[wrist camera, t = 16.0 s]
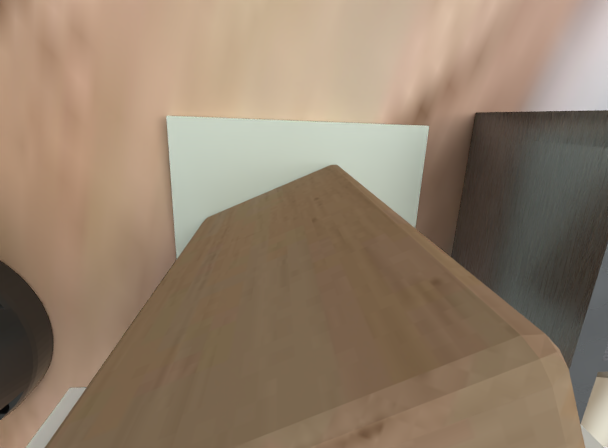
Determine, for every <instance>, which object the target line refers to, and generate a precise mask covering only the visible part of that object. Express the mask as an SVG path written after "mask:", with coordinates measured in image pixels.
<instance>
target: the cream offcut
mask: <svg viewBox="0 0 608 448" xmlns="http://www.w3.org/2000/svg"><path fill="white" fill-rule="evenodd" d="M581 425H582V426H583V427H584V428H585V429H586V430H587V431H588V432H589V433H590V434H591V435H592V436H593V437H594V438H595V439H596V440H597V441H598V442H599V443H600V444H601V445H602V446H603V447H608V372H598V374H597V377H596V380H595V383H594V386H593V389H592V392H591V395H590V398H589V401H588V404H587V407H586V410H585V413H584V416H583V419H582V422H581Z"/></svg>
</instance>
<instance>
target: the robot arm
mask: <svg viewBox="0 0 608 448" xmlns="http://www.w3.org/2000/svg"><path fill="white" fill-rule="evenodd" d="M52 351H53V336H52V330H51V326H50V322H49V319H48V316H47V314H46V312H45V309H44V307H43V306H42V304H41V302H40V300H39V299H38V297H37V296H36V294H35V293H34V292H33V290H32V289H31V288H30V287H29V286H28V284H27V283H26V282H25V281H24V280H23V279H22V278H21V277H20V276H19V275H17V274H16V273H15V272H14V271H13V270H12V269H10V268H9V267H8V266H6V265H5V264H4V263H2V262H1V261H0V420H1V419H2V418H4V417H5V416H7V415H8V414H9V413H10V412H12V411H13V410H14V409H15V408H16V407H17V406H18V405H19V404H20V403H21V402H22V401H23V400H24V399H25V398H26V397H27V396H28V395H29V393H30V392H31V391H32V390H33V389H34V388H35V387H36V386H37V384H38V383H39V382H40V381H41V379H42V378H43V377H44V375H45V373H46V371H47V369H48V367H49V364H50V361H51V357H52ZM86 388H87V387H81V388H69V390H68V391H67V392H66V394H65V395H64V396H63V398H62V399H61V401H60V402H59V403H58V405H57V406H56V407H55V409H54V410H53V411H52V413H51V414H50V415H49V417H48V418H47V419H46V421H45V422H44V423H43V425H42V426H41V428H40V429H39V430H38V432H37V433H36V434H35V436H34V437H33V438H32V440H31V441H30V442H29V444H28V445H27V446H26V448H45V446H46V445H47V444H48V442H49V441H50V439H51V438H52V436H53V435H54V434H55V432H56V431H57V429H58V428H59V426H60V425H61V424H62V422H63V421H64V419H65V418H66V416H67V415H68V414H69V412H70V411H71V409H72V408H73V406H74V405H75V404H76V402H77V401H78V399H79V398H80V397H81V395H82V394H83V392H84V391H85V389H86ZM580 425H581V424H580ZM581 430H582V434H583V439H584V444H585V448H604V447H603V446H602V445H601V444H600V443H599V442H598V441H597V440H596V439H595V438H594V437H593V436H592V435H591V434H590V433H589V432H588V431H587V430H586V429H585V428H584V427H583V426H582V425H581Z"/></svg>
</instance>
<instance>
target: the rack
mask: <svg viewBox="0 0 608 448" xmlns="http://www.w3.org/2000/svg"><path fill="white" fill-rule="evenodd" d="M451 258H453V259H454V260H455V261H456V262H457V263H459V264H460V265H461V266H462V267H464V268H465V269H466V270H467V271H469V272H470V273H471V274H472V275H473V276H475V277H476V278H477V279H478V280H480V281H481V282H482V283H483V284H485V285H486V286H487V287H488V288H489V289H491V290H492V291H493V292H494V293H496V294H497V295H498V296H499V297H501V298H502V299H503V300H504V301H505V302H507V303H508V304H509V305H510V306H512V307H513V308H514V309H515V310H517V311H518V312H519V313H520V314H521V315H523V316H524V317H525V318H526V319H528V320H529V321H530V322H531V323H533V324H534V325H535V326H536V327H537V328H539V329H540V330H541V331H542V332H544V333H545V334H546V335H547V336H548V337H549V338H550V339H551V341H552V342H553V343H554V344H555V345H556V346H557V347H558V348H559V349H560V352H561V354H562V356H563V358H564V360H565V362H566V364H567V367H568V369H569V373H570V378H571V383H572V387H573V392H574V397H575V401H576V406H577V411H578V416H579V420H580V424H581V422H582V419H583V416H584V413H585V410H586V407H587V404H588V401H589V398H590V395H591V392H592V389H593V386H594V383H595V380H596V377H597V374H598V372H608V110H605V111H546V112H487V113H476V116H475V122H474V128H473V134H472V140H471V146H470V151H469V157H468V163H467V169H466V175H465V181H464V187H463V193H462V198H461V204H460V210H459V216H458V222H457V228H456V234H455V239H454V245H453V251H452V257H451Z"/></svg>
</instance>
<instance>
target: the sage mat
mask: <svg viewBox="0 0 608 448" xmlns="http://www.w3.org/2000/svg"><path fill="white" fill-rule="evenodd" d="M166 118H167V132H168V146H169V160H170V174H171V188H172V202H173V216H174V230H175V244H176V258H178V257H179V255H180V254H181V253H182V251H183V250H184V248H185V247H186V245H187V244H188V243H189V241H190V240H191V238H192V237H193V236H194V234H195V233H196V231H197V230H198V228H199V227H200V226H201V224H202V223H203V221H204V220H205V219H206V218H207V217H210V216H212V215H214V214H217V213H219V212H221V211H224V210H226V209H228V208H231V207H233V206H235V205H238V204H240V203H242V202H245V201H247V200H249V199H252V198H254V197H257V196H259V195H261V194H264V193H266V192H268V191H271V190H273V189H275V188H278V187H280V186H282V185H285V184H287V183H289V182H292V181H294V180H297V179H299V178H301V177H304V176H306V175H308V174H311V173H313V172H315V171H318V170H320V169H322V168H325V167H327V166H329V165H338V166H339V167H341V168H342V169H343V170H344V171H345V172H347V173H348V174H349V175H350V176H352V177H353V178H354V179H355V180H357V181H358V182H359V183H360V184H361V185H363V186H364V187H365V188H366V189H368V190H369V191H370V192H371V193H373V194H374V195H375V196H376V197H377V198H379V199H380V200H381V201H382V202H384V203H385V204H386V205H387V206H389V207H390V208H391V209H392V210H393V211H395V212H396V213H397V214H398V215H400V216H401V217H402V218H403V219H405V220H406V221H407V222H408V223H409V224H411V225H412V226H413V227H414V228H415V227H416V219H417V212H418V205H419V197H420V190H421V182H422V175H423V168H424V160H425V153H426V145H427V138H428V131H429V126H421V125H395V124H369V123H344V122H318V121H292V120H266V119H240V118H214V117H189V116H166Z"/></svg>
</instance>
